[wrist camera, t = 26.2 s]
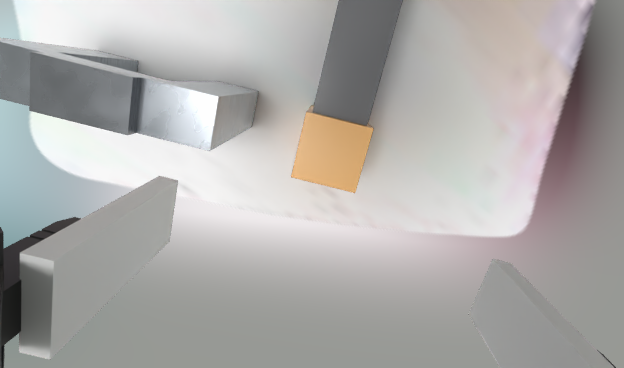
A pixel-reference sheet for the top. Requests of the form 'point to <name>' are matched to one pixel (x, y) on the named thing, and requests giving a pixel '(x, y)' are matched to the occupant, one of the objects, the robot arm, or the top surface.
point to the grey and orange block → (346, 94)
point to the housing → (121, 95)
